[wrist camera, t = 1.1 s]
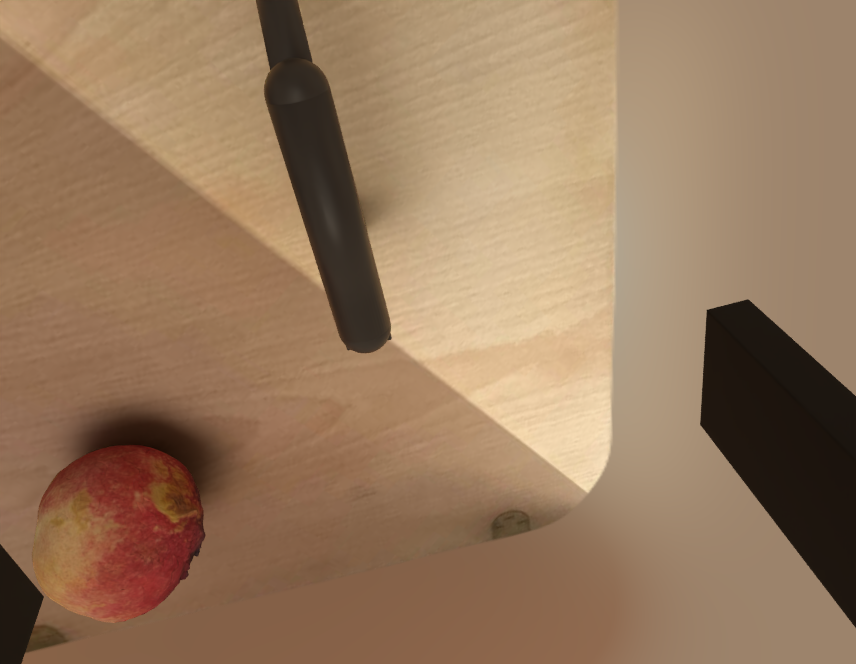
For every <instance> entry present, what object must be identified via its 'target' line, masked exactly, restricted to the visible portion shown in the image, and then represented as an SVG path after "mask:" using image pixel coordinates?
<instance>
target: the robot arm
mask: <svg viewBox="0 0 856 664" xmlns="http://www.w3.org/2000/svg"><path fill="white" fill-rule="evenodd" d="M704 353H705V354H704V369H703V388H702V405H701V422H700V425H701V426H702V427H703V429H704V430H705V431H706V433H707V434H708V435H709V436H710V438H711V439H712V441H713V442H714V443H715V445H716V446H717V447H718V448H719V450H720V451H721V452H722V454H723V455H724V456H725V457H726V459H727V460H728V461H729V463H730V464H731V465H732V466H733V468H734V469H735V470H736V472H737V473H738V475H739V476H740V477H741V478H742V480H743V481H744V482H745V484H746V485H747V486H748V487H749V489H750V490H751V492H752V493H753V494H754V495H755V497H756V498H757V499H758V501H759V502H760V503H761V505H762V506H763V507H764V509H765V510H766V511H767V512H768V513H769V515H770V516H771V518H772V519H773V520H774V521H775V523H776V524H777V525H778V527H779V528H780V529H781V531H782V532H783V533H784V535H785V536H786V537H787V539H788V540H789V541H790V543H791V544H792V545H793V546H794V548H795V549H796V550H797V552H798V553H799V554H800V556H802V558H803V559H804V561H805V562H806V563H807V565H808V566H809V567H810V569H811V570H812V571H813V573H814V574H815V575H816V576H817V578H818V579H819V580H820V582H821V583H822V584H823V586H824V587H825V588H826V590H827V591H828V592H829V593H830V595H831V596H832V597H833V599H834V600H835V601H836V603H837V604H838V605H839V606H840V608H841V609H842V610H843V612H844V613H845V614H846V616H847V617H848V618H849V620H850V621H851V622H852V624H853V625H854V626H855V627H856V396H855V395H854V394H853V393H852V392H851V391H849V390H848V389H847V388H846V387H845V386H844V385H843V384H841V382H839V381H838V380H837V379H836V378H835V377H834V376H833V375H832V374H831V373H829V372H828V371H827V370H826V369H825V368H824V367H823V366H822V365H821V364H819V363H818V362H817V361H816V360H815V359H814V358H813V357H812V356H811V355H809V354H808V353H807V352H806V351H805V350H804V349H803V348H802V347H801V346H799V345H798V344H797V343H796V342H795V341H794V340H793V339H792V338H791V337H789V336H788V335H787V334H786V333H785V332H784V331H783V330H782V329H781V328H779V327H778V326H777V325H776V324H775V323H774V322H773V321H772V320H771V319H769V318H768V317H767V316H766V315H765V314H764V313H763V312H762V311H761V310H759V309H758V308H757V307H756V306H755V305H754V304H753V303H752V302H751V301H750V300H744V301H740V302H736V303H732V304H729V305H724V306H721V307H716V308H713V309H709V310H707V318H706V334H705V352H704ZM43 598H44V596H43V595H42V594H41V593H40V592H39V590H38V589H37V588H36V587H35V586H34V584H33V583H32V582H31V581H30V580H29V578H28V577H27V576H26V575H25V573H24V572H23V571H22V570H21V569H20V567H19V566H18V565H17V564H16V563H15V561H14V560H13V559H12V558H11V557H10V555H9V554H8V553H7V552H6V551H5V549H4V548H3V547H2V546H1V545H0V664H21V663H22V659H23V657H24V654H25V651H26V648H27V645H28V642H29V639H30V636H31V633H32V630H33V627H34V624H35V621H36V619H37V616H38V613H39V610H40V607H41V604H42V601H43Z"/></svg>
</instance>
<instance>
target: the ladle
mask: <svg viewBox="0 0 856 664" xmlns="http://www.w3.org/2000/svg"><path fill="white" fill-rule="evenodd" d="M256 3H257V8H258V13H259V18H260V23H261V27H262V32H263V37H264V42H265V47H266V52H267V56H268V61H269V66H270V72H269V73H268V76H267V78H266V80H265V85H264V96H265V100H266V104H267V107H268V110H269V114H270V117H271V120H272V123H273V126H274V129H275V133H276V136H277V139H278V142H279V145H280V148H281V152H282V155H283V158H284V161H285V164H286V167H287V171H288V174H289V177H290V180H291V183H292V187H293V190H294V193H295V196H296V199H297V202H298V206H299V209H300V212H301V215H302V218H303V221H304V225H305V228H306V231H307V234H308V237H309V240H310V244H311V247H312V250H313V253H314V256H315V260H316V263H317V266H318V269H319V272H320V275H321V279H322V282H323V285H324V288H325V291H326V294H327V298H328V301H329V304H330V307H331V310H332V314H333V317H334V320H335V323H336V326H337V329H338V333H339V336H340V338H341V340H342V341H343V343H344V344H345V345H346V347H347V350H353V351H355V352H358V353H371V352H374V351H376V350H378V349H380V348H381V347H382V346H383V345H384V344H385V343H386V341H387V340H391V338H392V337H391V333H390V332H391V323H390V318H389V314H388V310H387V306H386V302H385V299H384V295H383V291H382V287H381V283H380V279H379V275H378V272H377V268H376V264H375V260H374V256H373V252H372V248H371V244H370V241H369V237H368V233H367V229H366V225H365V221H364V217H363V213H362V210H361V206H360V202H359V198H358V194H357V190H356V186H355V183H354V179H353V175H352V171H351V167H350V163H349V159H348V155H347V152H346V148H345V144H344V140H343V136H342V132H341V128H340V124H339V121H338V117H337V113H336V109H335V105H334V101H333V97H332V94H331V90H330V86H329V83H328V80H327V78H326V76H325V75H324V73H323V72H322V71H321V69H320V68H319V67H318V66H316V65H315V64H314V63H313V62H312V58H311V54H310V50H309V45H308V41H307V37H306V33H305V29H304V25H303V21H302V17H301V12H300V8H299V4H298V0H256Z"/></svg>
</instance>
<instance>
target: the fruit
mask: <svg viewBox="0 0 856 664" xmlns="http://www.w3.org/2000/svg"><path fill="white" fill-rule="evenodd" d="M204 538H205V532H204V529H203V508H202V506H201V500H200V493H199V490H198V488H197V486H196V484H195V482H194V479H193V477H192V475H191V473H190V472H189V471H188V469H187V468H186V467H185V466H184V465H183V464H182V463H181V462H179V461H178V460H176V459H175V458H173V457H171V456H170V455H168V454H166V453H164V452H161V451H159V450H156V449H153V448H150V447H146V446H140V445H117V446H111V447H107V448H103V449H99V450H96V451H93V452H90V453H88V454H86V455H84V456H83V457H81V458H79V459H77V460H76V461H74V462H72V463H71V464H69V465H68V466H67V467H66V468H64V469H63V470H62V471H60V472H59V473H58V474H57V475H56V477H55V478H54V479H53V481H52V482H51V484H50V485H49V487H48V489H47V490H46V492H45V494H44V495H43V497H42V500H41V502H40V505H39V510H38V522H37V527H36V533H35V538H34V546H33V552H32V558H33V566H34V571H35V574H36V577H37V580H38V582H39V585H40V586H41V588H42V590H43V591H44V593H45V594H46V595H47V596H48V597H49V598H51V599H52V600H53V601H55V602H56V603H58V604H60V605H62V606H63V607H64V608H66V609H68V610H69V611H72V612H75V613H77V614H79V615H85V616H88V617H90V618H93V619H95V620H99V621H103V622H114V623H115V622H121V621H126V620H128V619H131V618H135V617H137V616H139V615H142V614H145V613H147V612H148V611H150V610H152V609H154V608H155V607H156V606H158V605H159V604H160V603H161V602H162V601H164V600H165V599H166V598H167V597H168V596H169V595H170V593H171V592H172V591H173V590H174V589H175V587H176V586H177V585H178V584H179V583H180V580H183V579H186V577H187V576H188V570H189V569H190V562H191V561H192V559H193V556H198V555H199V551H200V550H199V549H200V548H201V544H202V541H203V540H204Z"/></svg>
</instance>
